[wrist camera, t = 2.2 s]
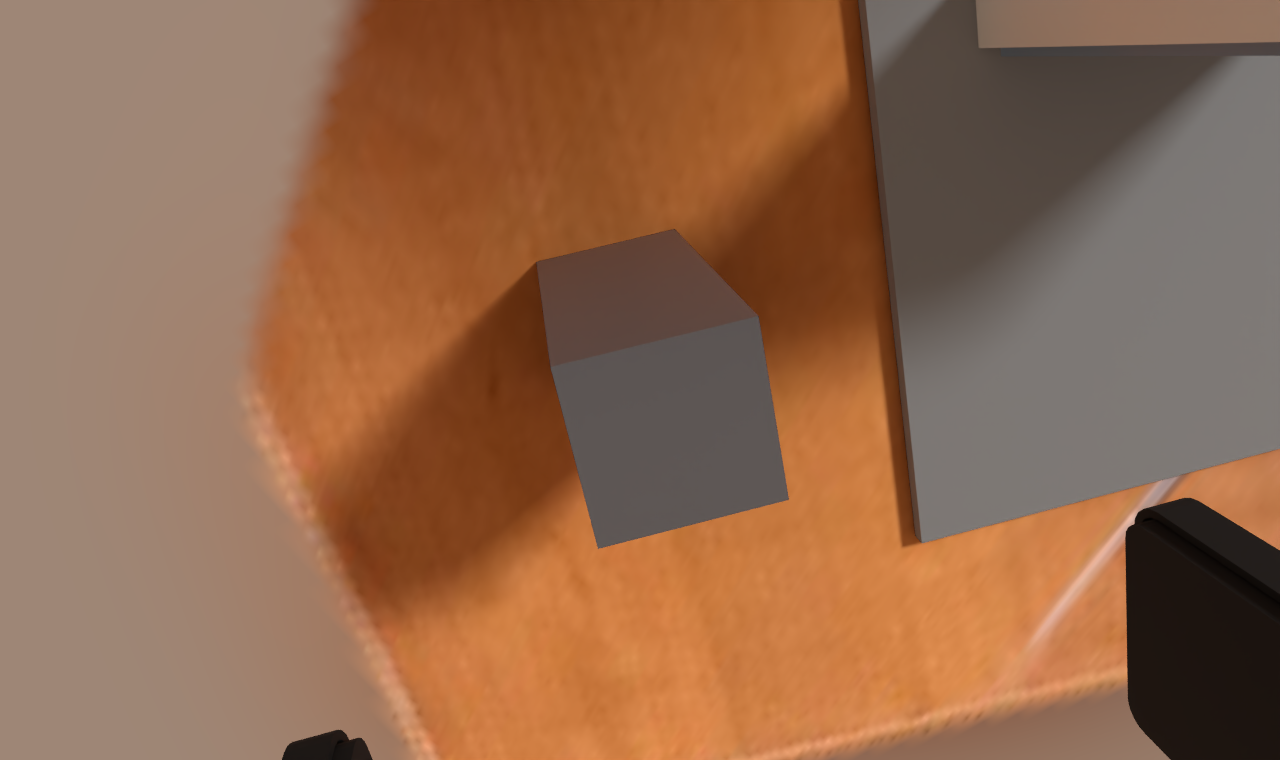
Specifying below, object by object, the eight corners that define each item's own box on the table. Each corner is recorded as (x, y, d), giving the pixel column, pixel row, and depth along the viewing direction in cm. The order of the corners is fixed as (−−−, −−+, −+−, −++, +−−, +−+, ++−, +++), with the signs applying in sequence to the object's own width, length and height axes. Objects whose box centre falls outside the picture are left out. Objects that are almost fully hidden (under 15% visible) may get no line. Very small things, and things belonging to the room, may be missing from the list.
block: (536, 262, 25) (550, 367, 16) (674, 228, 25) (758, 315, 17) (569, 391, 26) (598, 548, 18) (699, 359, 26) (789, 499, 18)
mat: (843, -132, 22) (851, -137, 22) (1423, -258, 23) (1441, -265, 23) (915, 535, 30) (921, 543, 29) (1354, 419, 31) (1367, 425, 30)
